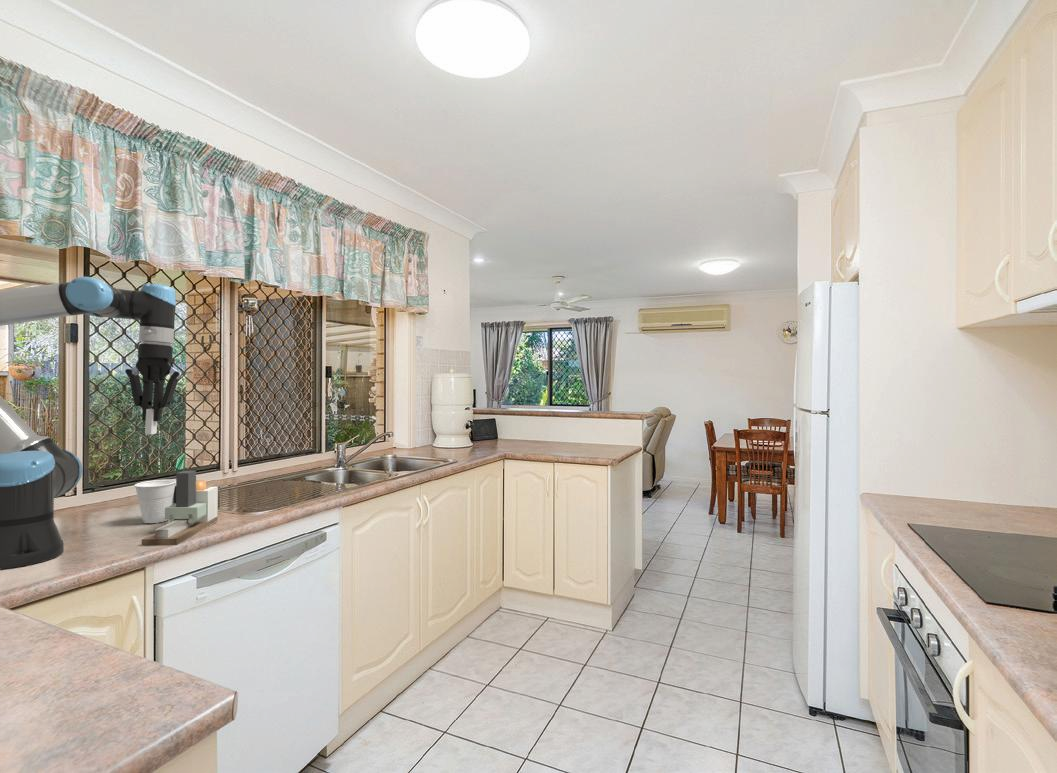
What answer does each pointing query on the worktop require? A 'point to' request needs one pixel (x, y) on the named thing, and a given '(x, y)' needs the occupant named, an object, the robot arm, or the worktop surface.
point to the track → (179, 535)
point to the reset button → (200, 485)
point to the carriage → (186, 499)
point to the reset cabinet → (208, 502)
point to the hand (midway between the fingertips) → (150, 433)
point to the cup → (155, 499)
